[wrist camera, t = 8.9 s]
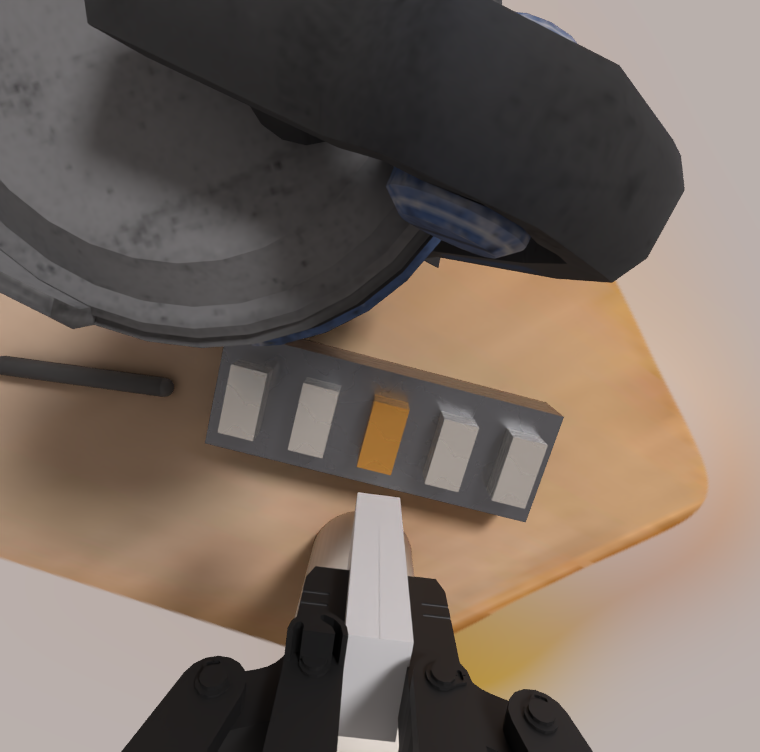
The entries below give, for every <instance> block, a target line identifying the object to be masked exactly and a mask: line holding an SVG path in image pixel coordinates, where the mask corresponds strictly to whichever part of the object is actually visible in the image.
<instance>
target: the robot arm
mask: <svg viewBox="0 0 760 752" xmlns="http://www.w3.org/2000/svg"><path fill="white" fill-rule="evenodd" d="M397 730H398V736H399V750H398V752H592V750H591V748H590V747H589V745H588V744H587V742H586V741H585V739H584V738H583V737H582V735H581V733H580V732H579V730H578V729H577V727H576V726H575V724H574V723H573V721H572V720H571V718H570V717H569V715H568V714H567V712H566V711H565V710H564V709H563V708H562V707H561V705H560V704H559V703H558V702H556V701H555V700H554V699H552V698H551V697H549V696H548V695H546V694H544V693H541V692H539V691H536V690H528V689H523V690H520V691H517V692H515V693H514V694H513V695H512V696H511V698H510V699H509V701H507V700H504V699H502V698H500V697H497V696H495V695H492V694H490V693H488V692H486V691H484V690H482V689H480V688H479V687H478V686H476V685H475V684H474V683H473V682H472V681H471V679H470V676H469V674H468V672H467V670H466V669H465V668H464V667H463V666H462V665H461V664H460V662H459V658H458V653H457V648H456V643H455V638H454V633H453V628H452V623H451V620H450V613H449V609H448V604H447V599H446V594H445V591H444V590H443V589H442V587H441V586H440V584H439V583H438V582H437V580H436V579H429V578H421V577H412V576H407V566H406V555H405V545H404V534H403V524H402V513H401V502H400V498H399V497H391V496H383V495H375V494H367V493H360V492H358V494H357V501H356V508H355V515H354V522H353V529H352V536H351V543H350V551H349V558H348V566H347V570H344V569H336V568H327V567H319V566H315V567H314V568H313V569H312V571H311V572H310V573H309V574H308V575H307V576H306V578H305V583H304V587H303V592H302V596H301V600H300V604H299V609H298V613H297V617H295V618H294V619H293V620H292V621H291V623H290V625H289V627H288V629H287V638H286V647H285V655H284V656H283V657H282V658H281V659H280V660H278V661H277V662H276V663H274V664H272V665H270V666H268V667H264V668H260V669H256V670H250V671H245V670H244V669H243V667H242V666H241V664H240V663H239V662H237V661H235V660H233V659H232V658H229V657H222V656H216V657H208V658H205V659H202V660H200V661H198V662H196V663H194V664H193V665H192V666H191V667H190V668H188V669H187V670H186V671H185V672H184V673H183V675H182V676H181V677H180V678H179V680H178V681H177V682H176V683H175V685H174V686H173V687H172V689H171V690H170V691H169V692H168V694H167V695H166V696H165V697H164V699H163V700H162V701H161V702H160V704H159V705H158V706H157V707H156V709H155V710H154V711H153V712H152V714H151V715H150V716H149V717H148V719H147V720H146V721H145V723H144V724H143V725H142V726H141V728H140V729H139V730H138V731H137V733H136V734H135V735H134V736H133V738H132V739H131V740H130V742H129V743H128V744H127V745H126V746H125V748H124V749H123V750H122V752H337V745H338V736H342V737H351V738H360V739H370V740H379V741H388V742H395V741H396V736H397Z"/></svg>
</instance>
